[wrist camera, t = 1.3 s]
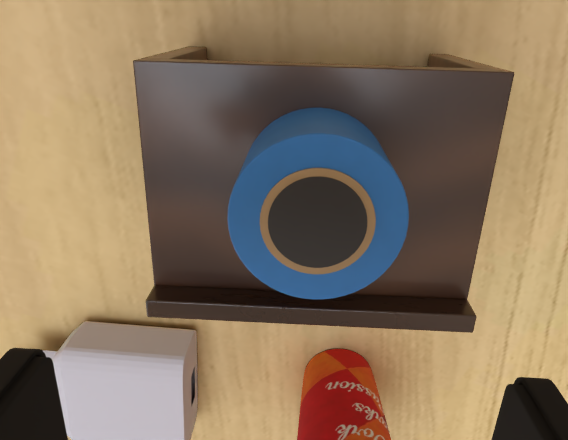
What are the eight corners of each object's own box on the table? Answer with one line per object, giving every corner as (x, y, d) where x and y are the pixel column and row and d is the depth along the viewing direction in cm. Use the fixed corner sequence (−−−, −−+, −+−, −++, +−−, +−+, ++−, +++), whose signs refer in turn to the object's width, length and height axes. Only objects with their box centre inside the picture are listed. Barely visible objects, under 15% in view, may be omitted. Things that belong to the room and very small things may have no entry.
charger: (10, 309, 38) (197, 324, 37) (27, 398, 41) (198, 412, 41) (-29, 347, 33) (182, 364, 33) (-6, 443, 37) (185, 459, 37)
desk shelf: (187, 46, 29) (119, 63, 19) (448, 54, 29) (530, 76, 18) (196, 224, 34) (146, 317, 24) (421, 233, 34) (473, 333, 23)
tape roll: (243, 104, 21) (224, 130, 16) (395, 109, 20) (422, 137, 16) (244, 241, 23) (228, 297, 19) (379, 246, 23) (398, 305, 18)
